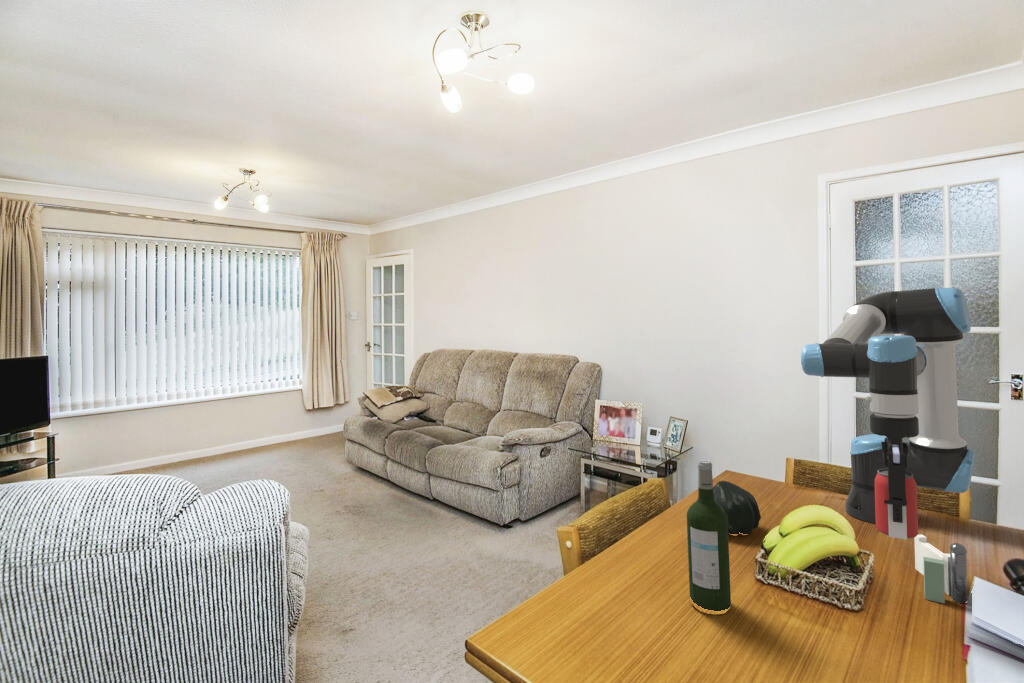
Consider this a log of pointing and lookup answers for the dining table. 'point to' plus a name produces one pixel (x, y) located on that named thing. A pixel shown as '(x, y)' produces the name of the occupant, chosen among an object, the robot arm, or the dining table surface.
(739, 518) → the squash
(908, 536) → the beer can
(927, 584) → the block
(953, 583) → the hinge post
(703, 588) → the wine bottle
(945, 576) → the gate
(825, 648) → the dining table surface
